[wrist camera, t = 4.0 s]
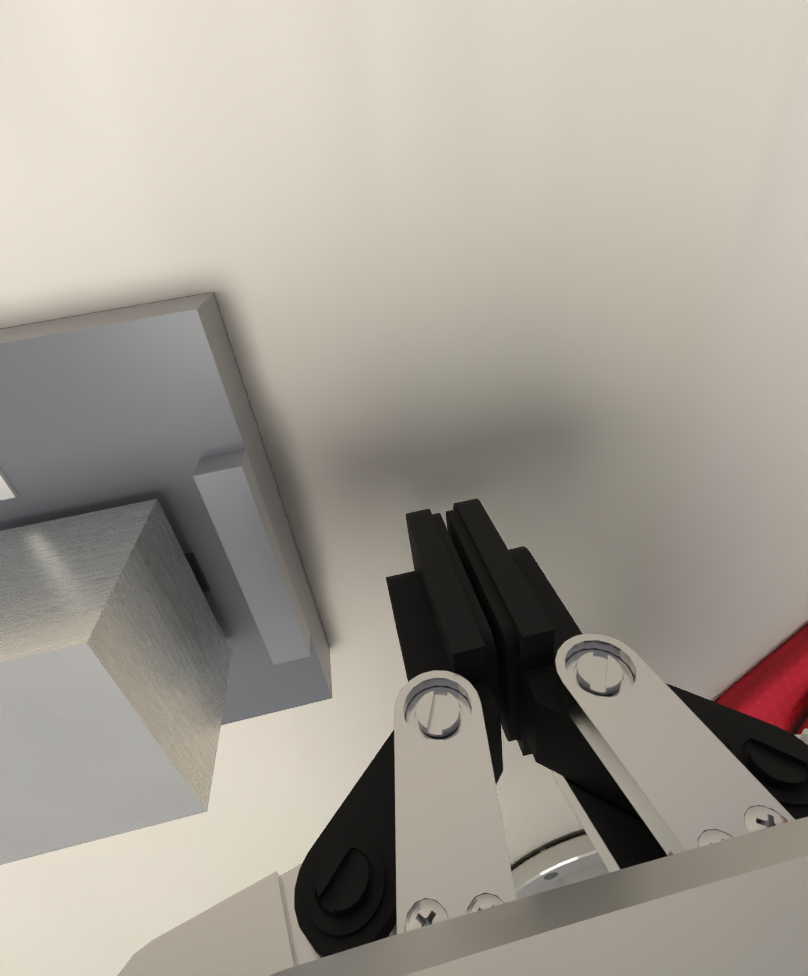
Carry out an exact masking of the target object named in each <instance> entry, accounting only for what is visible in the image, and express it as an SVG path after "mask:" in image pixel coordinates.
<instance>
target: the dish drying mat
mask: <svg viewBox="0 0 808 976" xmlns="http://www.w3.org/2000/svg"><path fill="white" fill-rule="evenodd" d="M715 702H716V703H718V704H721V705H723V706H726V707H729V708H731V709H734V710H736V711H739V712H741V713H744V714H747V715H749V716H752V717H754V718H757V719H760V720H762V721H765V722H767V723H770V724H772V725H775V726H777V727H779V728H781V729H783V730H785V731H787V732H789V733H791V734H793V735H801V734H802V732H803V730H804V729H808V625H806V626H805V627H804V628H803V629H802V630H800V631H799V632H798V633H797V634H796V635H795V636H793V637H792V638H791V639H790V640H788V641H787V642H786V643H785V644H784V645H782V646H781V647H780V648H779V649H777V650H776V651H775V652H774V653H773V654H771V655H770V656H769V657H768V658H766V659H765V660H764V661H763V662H761V663H760V664H759V665H758V666H756V667H755V668H754V669H753V670H752V671H750V672H749V673H748V674H747V675H745V676H744V677H743V678H742V679H740V680H739V681H738V682H737V683H736V684H735V685H733V686H732V687H731V688H730V689H729V690H728V691H726V692H725V693H724V694H723V695H722V696H721V697H720V698H719V699H717V700H716V701H715Z"/></svg>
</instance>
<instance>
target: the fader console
mask: <svg viewBox="0 0 808 976" xmlns="http://www.w3.org/2000/svg"><path fill="white" fill-rule="evenodd" d="M153 499H157V500H158V502H159V504H160V506H161V508H162V510H163V512H164V514H165V516H166V518H167V520H168V522H169V524H170V526H171V528H172V530H173V532H174V534H175V536H176V538H177V541H178V543H179V545H180V547H181V549H182V551H183V553H184V555H185V557H186V559H187V561H188V563H189V565H190V567H191V569H192V571H193V573H194V575H195V577H196V580H197V582H198V584H199V586H200V588H201V590H202V592H203V594H204V596H205V598H206V600H207V602H208V604H209V606H210V608H211V610H212V612H213V614H214V616H215V618H216V621H217V623H218V625H219V627H220V629H221V631H222V633H223V635H224V637H225V639H226V641H227V643H228V645H229V647H230V649H231V651H232V657H231V663H230V669H229V676H228V682H227V688H226V695H225V701H224V708H223V714H222V720H221V725H224V724H228V723H232V722H236V721H240V720H244V719H248V718H252V717H257V716H261V715H265V714H269V713H273V712H277V711H281V710H285V709H289V708H293V707H297V706H302V705H306V704H310V703H314V702H318V701H322V700H326V699H330V698H332V684H331V666H330V649H329V646H328V643H327V640H326V637H325V633H324V630H323V627H322V624H321V621H320V618H319V615H318V612H317V609H316V606H315V603H314V600H313V597H312V594H311V590H310V587H309V584H308V581H307V578H306V575H305V572H304V569H303V566H302V563H301V560H300V557H299V554H298V551H297V547H296V544H295V541H294V538H293V535H292V532H291V529H290V526H289V523H288V520H287V517H286V514H285V511H284V507H283V504H282V501H281V498H280V495H279V492H278V489H277V486H276V483H275V480H274V477H273V474H272V471H271V468H270V464H269V461H268V458H267V455H266V452H265V449H264V446H263V443H262V440H261V437H260V434H259V431H258V428H257V425H256V421H255V418H254V415H253V412H252V409H251V406H250V403H249V400H248V397H247V394H246V391H245V388H244V385H243V381H242V378H241V375H240V372H239V369H238V366H237V363H236V360H235V357H234V354H233V351H232V348H231V345H230V342H229V338H228V335H227V332H226V329H225V326H224V323H223V320H222V317H221V314H220V311H219V308H218V305H217V302H216V299H215V295H214V292H211V293H205V294H199V295H193V296H188V297H182V298H176V299H170V300H164V301H159V302H153V303H147V304H141V305H136V306H130V307H124V308H118V309H113V310H107V311H101V312H95V313H90V314H84V315H78V316H72V317H67V318H61V319H55V320H49V321H44V322H38V323H32V324H26V325H21V326H15V327H9V328H3V329H0V531H3V530H7V529H12V528H17V527H22V526H27V525H32V524H37V523H41V522H46V521H51V520H56V519H61V518H66V517H71V516H76V515H80V514H85V513H90V512H95V511H100V510H105V509H110V508H114V507H119V506H124V505H129V504H134V503H139V502H144V501H149V500H153Z"/></svg>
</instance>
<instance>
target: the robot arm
mask: <svg viewBox="0 0 808 976" xmlns="http://www.w3.org/2000/svg"><path fill="white" fill-rule="evenodd" d="M406 520H407V527H408V533H409V539H410V545H411V551H412V557H413V563H414V570H415V571H412V572H408V573H403V574H399V575H395V576H390V577H386V580H387V585H388V590H389V595H390V600H391V604H392V609H393V614H394V619H395V623H396V628H397V633H398V637H399V642H400V647H401V651H402V656H403V660H404V665H405V670H406V674H407V679H408V683H407V684H406V685H405V686H404V687H403V688H402V689H401V691H400V693H399V695H398V697H397V699H396V703H395V709H394V730H393V732H392V733H391V735H390V736H389V738H388V739H387V740H386V742H385V743H384V745H383V746H382V748H381V749H380V750H379V752H378V753H377V755H376V756H375V758H374V759H373V760H372V762H371V763H370V765H369V766H368V768H367V769H366V770H365V772H364V773H363V775H362V776H361V778H360V779H359V780H358V782H357V783H356V785H355V786H354V788H353V789H352V790H351V792H350V793H349V795H348V796H347V798H346V799H345V800H344V802H343V803H342V805H341V806H340V808H339V809H338V811H337V812H336V813H335V815H334V816H333V818H332V819H331V821H330V822H329V823H328V825H327V826H326V828H325V829H324V831H323V832H322V833H321V835H320V836H319V838H318V839H317V841H316V842H315V843H314V845H313V846H312V848H311V849H310V851H309V852H308V854H307V856H306V858H305V860H304V861H303V863H302V864H300V865H298V866H297V867H295V868H293V869H291V870H289V871H288V872H286V873H284V874H282V875H280V876H279V874H278V873H277V871H276V872H274V873H272V874H271V875H269V876H267V877H265V878H263V879H262V880H260V881H258V882H256V883H254V884H253V885H251V886H249V887H247V888H245V889H244V890H242V891H240V892H238V893H236V894H235V895H233V896H231V897H229V898H227V899H226V900H224V901H222V902H220V903H218V904H217V905H215V906H213V907H211V908H210V909H208V910H206V911H204V912H202V913H201V914H199V915H197V916H195V917H193V918H192V919H190V920H188V921H186V922H184V923H183V924H181V925H179V926H177V927H175V928H174V929H172V930H170V931H168V932H166V933H165V934H163V935H161V936H159V937H157V938H156V939H154V940H152V941H151V942H149V943H148V944H147V945H145V946H144V947H143V948H142V949H140V950H139V951H138V952H136V953H135V954H134V955H133V956H132V957H131V959H130V960H129V961H128V963H127V964H126V965H125V967H124V968H123V969H122V970H121V972H120V973H119V974H118V976H808V729H804V730H803V732H802V734H801V735H793V734H791V733H789V732H787V731H785V730H783V729H781V728H779V727H777V726H775V725H772V724H770V723H767V722H765V721H762V720H760V719H757V718H754V717H752V716H749V715H747V714H744V713H741V712H739V711H736V710H734V709H731V708H729V707H726V706H723V705H721V704H718V703H716V702H713V701H710V700H708V699H705V698H703V697H700V696H698V695H695V694H692V693H690V692H687V691H685V690H682V689H680V688H677V687H674V686H672V685H669V684H667V683H664V682H663V680H662V679H661V678H660V677H659V676H658V675H657V674H656V673H655V672H654V671H653V670H652V669H651V668H650V667H649V666H648V665H647V664H646V663H645V662H644V661H643V660H642V658H641V657H640V656H639V655H638V654H637V653H636V652H635V651H633V650H632V649H631V648H630V647H629V646H627V645H626V644H625V643H623V642H621V641H619V640H617V639H615V638H613V637H609V636H605V635H601V634H582V633H581V631H580V629H579V628H578V626H577V625H576V623H575V622H574V620H573V618H572V617H571V615H570V614H569V612H568V611H567V609H566V608H565V606H564V604H563V603H562V601H561V600H560V598H559V597H558V595H557V594H556V592H555V590H554V589H553V587H552V586H551V584H550V583H549V581H548V580H547V578H546V576H545V575H544V573H543V572H542V570H541V569H540V567H539V566H538V564H537V562H536V561H535V559H534V558H533V556H532V555H531V553H530V552H529V550H528V549H527V548H526V547H524V546H523V547H519V548H514V549H510V550H508V549H507V547H506V545H505V544H504V542H503V540H502V538H501V537H500V535H499V533H498V532H497V530H496V528H495V526H494V525H493V523H492V521H491V520H490V518H489V516H488V514H487V513H486V511H485V509H484V508H483V506H482V504H481V502H480V501H479V500H478V499H472V500H468V501H463V502H458V503H454V505H453V510H451V511H447V512H446V520H447V528H446V526H445V523H444V521H443V519H442V517H441V514H440V513H437V514H433V515H432V513H431V511H430V509H426V510H421V511H417V512H412V513H407V514H406ZM447 529H448V530H447ZM501 725H502V728H503V730H504V733H505V736H506V738H507V740H508V741H513V740H517V741H518V744H519V746H520V749H521V751H522V754H523V756H525V755H529V754H533V756H534V758H535V761H536V762H537V763H539V764H541V765H543V766H545V767H547V768H549V769H550V770H552V774H553V776H554V778H555V781H556V783H557V785H558V786H559V788H560V790H561V792H562V793H563V795H564V797H565V798H566V800H567V802H568V803H569V805H570V807H571V808H572V810H573V812H574V813H575V815H576V817H577V818H578V820H579V822H580V823H581V825H582V827H583V828H584V830H585V832H586V833H587V834H584V835H580V836H577V837H575V838H572V839H569V840H567V841H564V842H561V843H559V844H557V845H555V846H552V847H550V848H548V849H546V850H544V851H542V852H540V853H538V854H537V855H535V856H533V857H531V858H530V859H528V860H526V861H525V862H523V863H522V864H521V865H519V866H518V867H516V868H515V869H514V870H512V871H511V866H510V861H509V855H508V850H507V844H506V839H505V833H504V828H503V822H502V817H501V811H500V806H499V800H498V794H497V789H496V784H497V782H498V780H499V778H500V776H501V773H502V771H503V760H502V740H501Z"/></svg>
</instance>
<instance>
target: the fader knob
mask: <svg viewBox="0 0 808 976" xmlns="http://www.w3.org/2000/svg"><path fill="white" fill-rule="evenodd" d="M231 657H232V651H231V649H230V647H229V645H228V643H227V641H226V639H225V637H224V635H223V633H222V631H221V629H220V627H219V625H218V623H217V621H216V618H215V616H214V614H213V612H212V610H211V608H210V606H209V604H208V602H207V600H206V598H205V596H204V594H203V592H202V590H201V588H200V586H199V584H198V582H197V580H196V577H195V575H194V573H193V571H192V569H191V567H190V565H189V563H188V561H187V559H186V557H185V555H184V553H183V551H182V549H181V547H180V545H179V543H178V541H177V538H176V536H175V534H174V532H173V530H172V528H171V526H170V524H169V522H168V520H167V518H166V516H165V514H164V512H163V510H162V508H161V506H160V504H159V502H158V500H157V499H153V500H149V501H144V502H139V503H134V504H129V505H124V506H119V507H114V508H110V509H105V510H100V511H95V512H90V513H85V514H80V515H76V516H71V517H66V518H61V519H56V520H51V521H46V522H41V523H37V524H32V525H27V526H22V527H17V528H12V529H7V530H3V531H0V865H1V864H5V863H9V862H13V861H17V860H21V859H25V858H28V857H32V856H36V855H40V854H44V853H48V852H52V851H56V850H59V849H63V848H67V847H71V846H75V845H79V844H83V843H87V842H91V841H94V840H98V839H102V838H106V837H110V836H114V835H118V834H122V833H125V832H129V831H133V830H137V829H141V828H145V827H149V826H153V825H156V824H160V823H164V822H168V821H172V820H176V819H180V818H184V817H187V816H191V815H195V814H199V813H203V812H207V809H208V803H209V797H210V790H211V784H212V777H213V771H214V765H215V758H216V752H217V746H218V739H219V733H220V727H221V720H222V714H223V708H224V701H225V695H226V688H227V682H228V676H229V669H230V663H231Z"/></svg>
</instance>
